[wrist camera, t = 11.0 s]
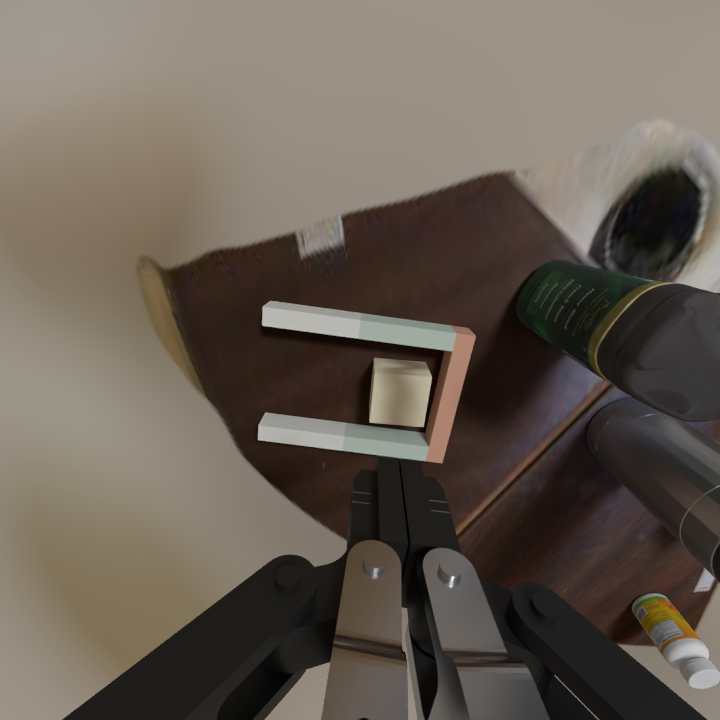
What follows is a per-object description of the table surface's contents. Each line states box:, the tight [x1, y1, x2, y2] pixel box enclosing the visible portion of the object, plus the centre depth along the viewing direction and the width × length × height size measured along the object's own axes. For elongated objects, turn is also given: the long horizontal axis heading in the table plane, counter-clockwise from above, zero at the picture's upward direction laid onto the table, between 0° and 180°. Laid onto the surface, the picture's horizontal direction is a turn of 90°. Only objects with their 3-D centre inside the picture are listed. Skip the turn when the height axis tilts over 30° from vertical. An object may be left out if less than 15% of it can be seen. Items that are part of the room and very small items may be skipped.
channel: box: [258, 301, 476, 463], centre depth 40 cm, size 22×16×3 cm
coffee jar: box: [516, 260, 720, 422], centre depth 29 cm, size 10×8×19 cm
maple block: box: [369, 358, 432, 427], centre depth 40 cm, size 6×6×4 cm
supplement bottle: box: [632, 593, 720, 689], centre depth 50 cm, size 5×5×10 cm
